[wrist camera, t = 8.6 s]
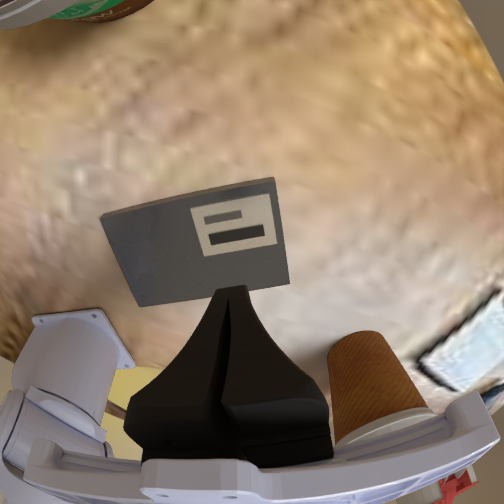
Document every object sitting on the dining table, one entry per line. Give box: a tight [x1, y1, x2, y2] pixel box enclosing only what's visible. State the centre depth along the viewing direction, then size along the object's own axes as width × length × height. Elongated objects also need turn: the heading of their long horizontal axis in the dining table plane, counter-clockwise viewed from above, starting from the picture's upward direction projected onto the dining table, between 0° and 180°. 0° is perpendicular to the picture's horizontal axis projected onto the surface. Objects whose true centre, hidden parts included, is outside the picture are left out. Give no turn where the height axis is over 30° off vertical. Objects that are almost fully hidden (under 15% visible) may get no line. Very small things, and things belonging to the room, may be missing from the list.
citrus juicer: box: [396, 464, 479, 504], centre depth 36 cm, size 16×17×20 cm
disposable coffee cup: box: [327, 331, 437, 447], centre depth 24 cm, size 10×10×12 cm
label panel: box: [100, 177, 290, 307], centre depth 21 cm, size 12×8×1 cm, turn 100°
